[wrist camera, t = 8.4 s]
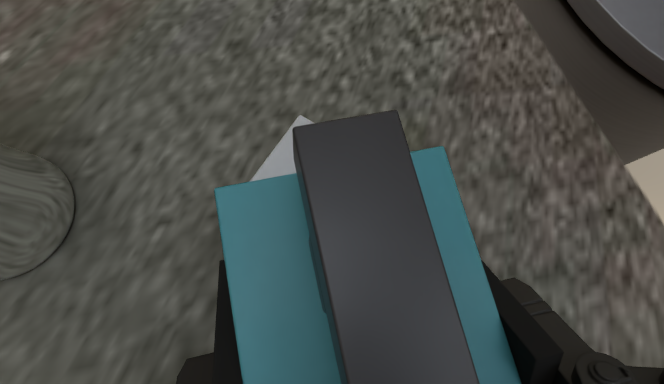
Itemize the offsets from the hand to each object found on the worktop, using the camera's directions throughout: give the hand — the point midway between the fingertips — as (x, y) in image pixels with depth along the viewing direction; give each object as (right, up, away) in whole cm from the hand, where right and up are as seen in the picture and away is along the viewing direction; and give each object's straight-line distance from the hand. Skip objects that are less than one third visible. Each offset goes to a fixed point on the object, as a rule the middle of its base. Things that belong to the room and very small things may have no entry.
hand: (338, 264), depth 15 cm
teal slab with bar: (0, -2, +3) cm, 4 cm away
